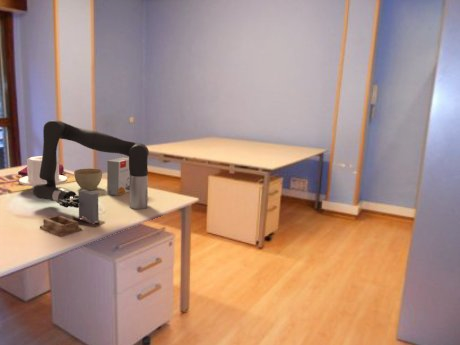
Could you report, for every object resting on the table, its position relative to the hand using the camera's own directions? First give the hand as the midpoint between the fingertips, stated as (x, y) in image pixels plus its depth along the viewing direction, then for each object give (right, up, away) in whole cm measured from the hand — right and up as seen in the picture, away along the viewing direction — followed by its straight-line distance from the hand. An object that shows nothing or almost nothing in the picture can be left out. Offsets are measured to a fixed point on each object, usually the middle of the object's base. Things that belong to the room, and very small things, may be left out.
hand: (86, 203), depth 178 cm
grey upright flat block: (+1, -8, +1) cm, 8 cm away
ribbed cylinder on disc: (-42, +4, +47) cm, 63 cm away
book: (-57, +10, +75) cm, 95 cm away
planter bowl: (-19, +4, +56) cm, 60 cm away
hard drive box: (+1, +2, +52) cm, 52 cm away
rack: (-7, -10, -11) cm, 16 cm away
